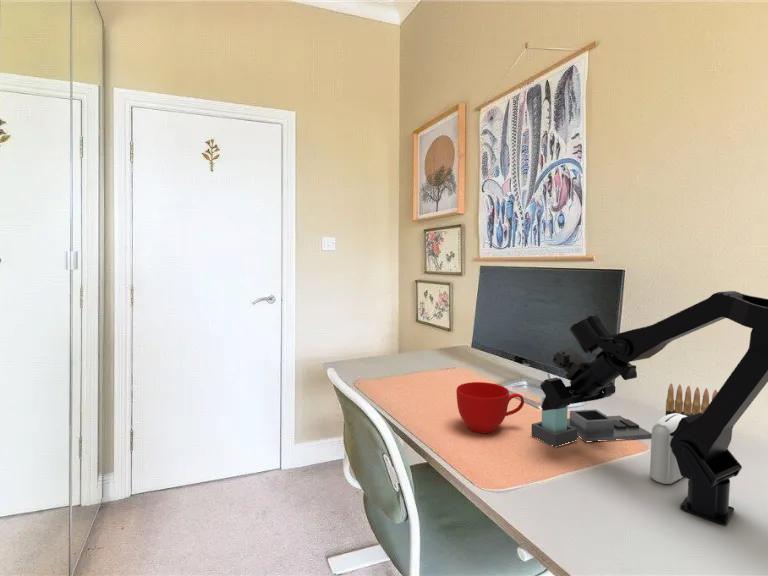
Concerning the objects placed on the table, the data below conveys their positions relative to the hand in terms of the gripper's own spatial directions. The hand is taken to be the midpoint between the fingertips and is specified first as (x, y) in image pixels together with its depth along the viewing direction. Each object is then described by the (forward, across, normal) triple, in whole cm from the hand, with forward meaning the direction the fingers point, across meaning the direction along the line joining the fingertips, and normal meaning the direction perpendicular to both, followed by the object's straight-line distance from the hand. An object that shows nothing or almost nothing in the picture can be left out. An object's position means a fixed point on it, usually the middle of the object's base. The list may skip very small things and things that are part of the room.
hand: (556, 405), depth 104 cm
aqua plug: (+6, 0, +6) cm, 8 cm away
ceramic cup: (+15, +9, -3) cm, 18 cm away
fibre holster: (+6, 0, +6) cm, 8 cm away
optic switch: (+5, -15, +7) cm, 17 cm away
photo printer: (-10, -7, +22) cm, 25 cm away
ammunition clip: (-3, -31, +16) cm, 35 cm away
